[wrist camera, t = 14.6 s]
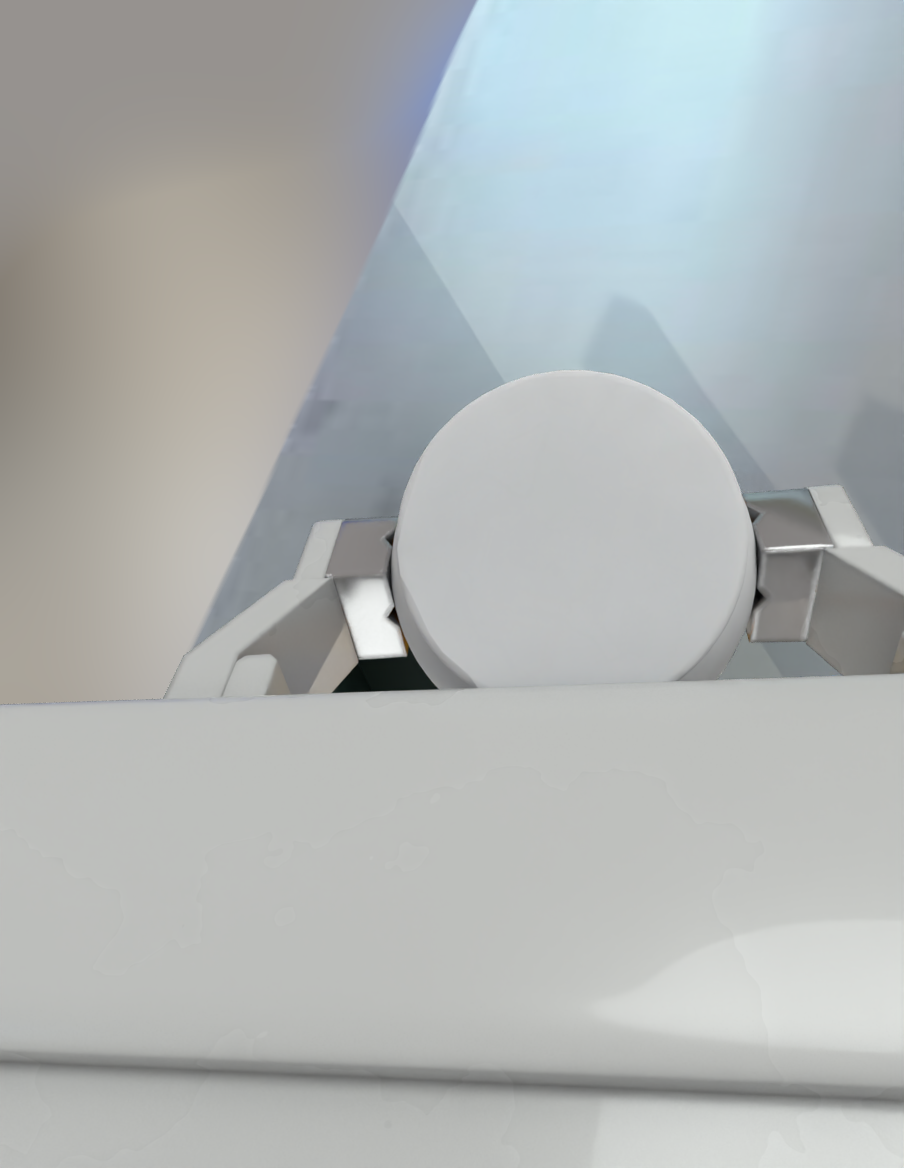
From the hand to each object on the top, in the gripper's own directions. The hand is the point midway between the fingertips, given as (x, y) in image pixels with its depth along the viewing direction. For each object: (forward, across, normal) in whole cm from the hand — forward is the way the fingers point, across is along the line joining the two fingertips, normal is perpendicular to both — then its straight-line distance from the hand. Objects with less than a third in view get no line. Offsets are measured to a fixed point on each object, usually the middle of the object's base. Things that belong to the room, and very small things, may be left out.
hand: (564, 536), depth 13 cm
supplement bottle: (+4, 0, +4) cm, 6 cm away
